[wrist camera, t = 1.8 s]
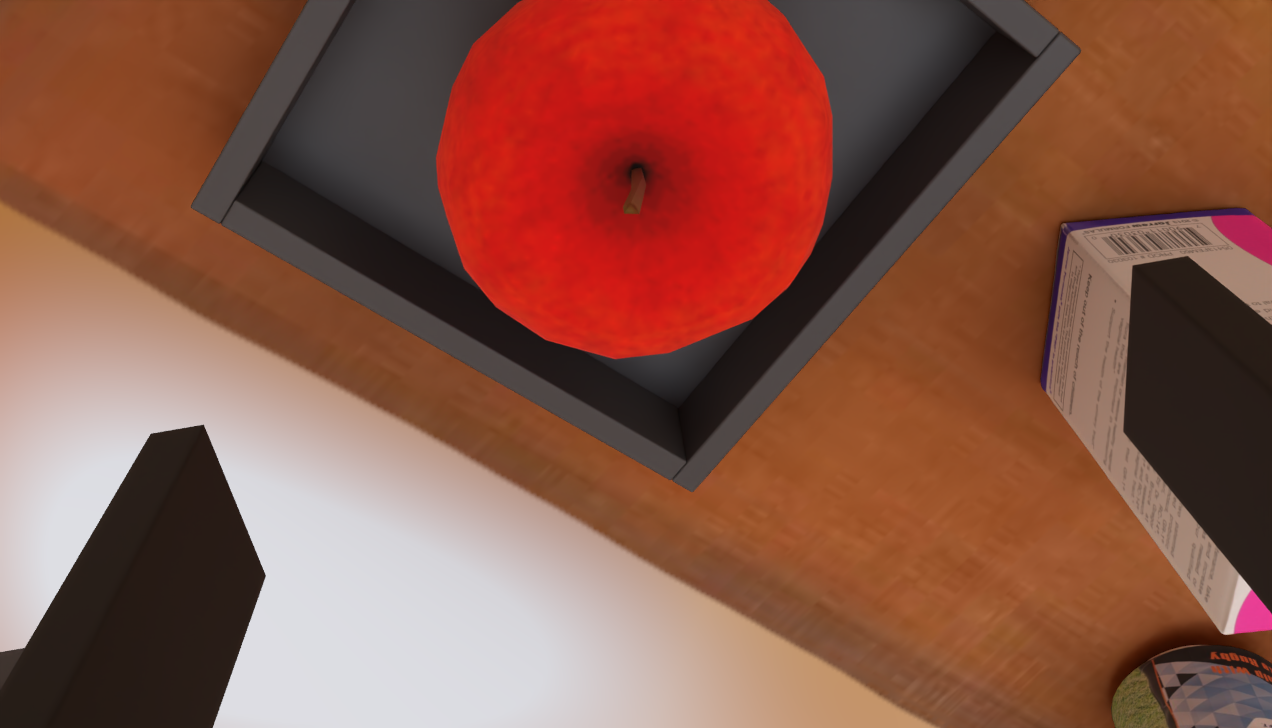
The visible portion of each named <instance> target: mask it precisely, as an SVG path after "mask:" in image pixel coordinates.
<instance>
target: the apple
mask: <svg viewBox="0 0 1272 728" xmlns="http://www.w3.org/2000/svg"><path fill="white" fill-rule="evenodd" d="M436 166H437V181H438V188H439V192H440V195H441V199H442V202H443V206H444V210H445V213H446V216H447V219H448V222H449V225H450V228H451V231H452V234H453V237H454V240H455V243H456V246H457V249H458V252H459V255H460V258H461V261H462V264H463V267H464V269H465V270H466V271H467V273H468V274H469V275H470V276H471V278H472V279H473V280H474V281H475V282H476V284H477V285H478V286H479V287H480V288H481V290H482V291H483V292H484V293H485V295H486V296H487V297H488V298H489V299H490V301H491V302H492V303H493V304H494V305H495V307H496V308H498V309H499V310H501V311H502V312H504V313H505V314H507V315H509V316H510V317H512V318H513V319H515V320H516V321H518V322H519V323H521V324H522V325H524V326H525V327H527V328H528V329H530V330H531V331H533V332H534V333H536V334H537V335H539V336H540V337H542V338H543V339H545V340H547V341H551V342H554V343H558V344H562V345H565V346H569V347H573V348H576V349H580V350H584V351H587V352H591V353H594V354H598V355H602V356H605V357H609V358H613V359H620V358H628V357H637V356H646V355H655V354H664V353H670V352H672V351H675V350H677V349H680V348H682V347H685V346H687V345H690V344H692V343H695V342H697V341H699V340H702V339H704V338H707V337H709V336H712V335H714V334H717V333H719V332H722V331H724V330H727V329H729V328H731V327H734V326H736V325H739V324H741V323H744V322H746V321H749V320H751V319H753V318H754V317H755V316H756V315H757V314H759V313H760V312H761V311H762V310H763V309H764V308H765V307H766V306H768V305H769V304H770V303H771V302H772V301H773V300H774V299H776V298H777V297H778V296H779V295H780V294H781V293H782V292H784V291H785V290H786V289H787V288H788V287H789V286H790V284H791V283H792V281H793V280H794V278H795V277H796V275H797V274H798V273H799V271H800V270H801V268H802V267H803V265H804V264H805V262H806V261H807V259H808V258H809V256H810V255H811V253H812V250H813V248H814V245H815V243H816V240H817V238H818V235H819V233H820V230H821V228H822V225H823V221H824V216H825V211H826V207H827V202H828V197H829V192H830V187H831V182H832V112H831V107H830V103H829V98H828V93H827V89H826V84H825V79H824V76H823V74H822V73H821V71H820V70H819V68H818V67H817V65H816V63H815V62H814V60H813V59H812V57H811V56H810V54H809V53H808V51H807V50H806V48H805V47H804V45H803V43H802V42H801V40H800V39H799V37H798V36H797V34H796V33H795V31H794V30H793V28H792V27H791V25H790V23H789V22H788V20H787V19H786V17H785V16H784V15H783V14H782V13H781V12H780V11H779V10H778V9H777V8H776V7H775V6H773V5H772V4H771V3H770V2H769V1H768V0H522V1H520V2H518V3H517V4H516V5H515V6H514V7H513V8H511V9H510V10H509V11H508V12H507V13H506V14H505V15H504V16H503V17H502V18H501V19H500V20H498V21H497V22H496V23H495V24H494V25H493V26H492V27H491V28H490V29H489V30H488V31H487V32H485V33H484V34H483V35H482V36H481V37H480V38H479V39H478V40H477V41H476V42H475V43H474V44H473V45H472V47H471V49H470V51H469V53H468V56H467V58H466V60H465V62H464V64H463V66H462V68H461V70H460V72H459V74H458V76H457V78H456V80H455V82H454V84H453V86H452V90H451V94H450V98H449V103H448V107H447V111H446V116H445V120H444V125H443V129H442V133H441V138H440V142H439V146H438V151H437V155H436Z"/></svg>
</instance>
